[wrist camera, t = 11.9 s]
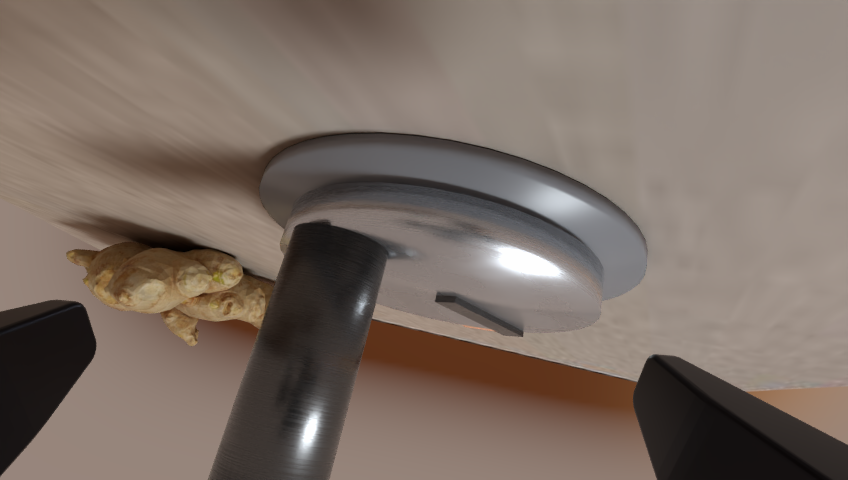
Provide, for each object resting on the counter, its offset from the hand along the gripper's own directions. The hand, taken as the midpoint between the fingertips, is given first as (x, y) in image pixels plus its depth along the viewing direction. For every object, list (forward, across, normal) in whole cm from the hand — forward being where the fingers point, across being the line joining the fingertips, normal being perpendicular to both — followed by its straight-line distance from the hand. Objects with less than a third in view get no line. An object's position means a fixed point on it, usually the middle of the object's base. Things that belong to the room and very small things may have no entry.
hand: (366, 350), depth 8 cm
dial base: (+14, +2, -5) cm, 15 cm away
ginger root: (+27, -18, -15) cm, 36 cm away
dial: (+14, +2, -5) cm, 15 cm away
